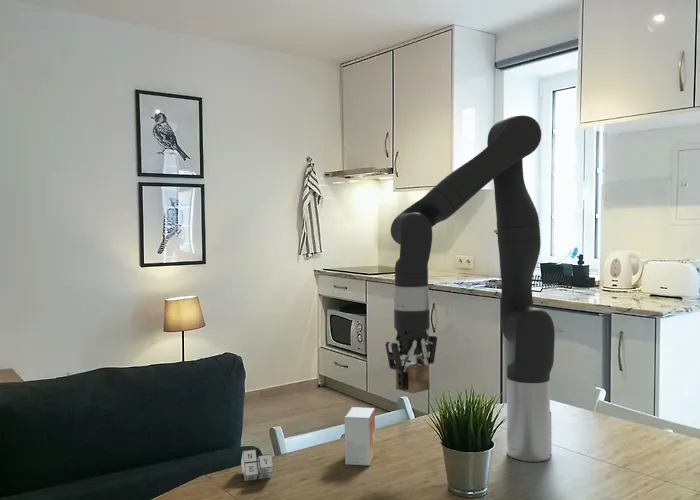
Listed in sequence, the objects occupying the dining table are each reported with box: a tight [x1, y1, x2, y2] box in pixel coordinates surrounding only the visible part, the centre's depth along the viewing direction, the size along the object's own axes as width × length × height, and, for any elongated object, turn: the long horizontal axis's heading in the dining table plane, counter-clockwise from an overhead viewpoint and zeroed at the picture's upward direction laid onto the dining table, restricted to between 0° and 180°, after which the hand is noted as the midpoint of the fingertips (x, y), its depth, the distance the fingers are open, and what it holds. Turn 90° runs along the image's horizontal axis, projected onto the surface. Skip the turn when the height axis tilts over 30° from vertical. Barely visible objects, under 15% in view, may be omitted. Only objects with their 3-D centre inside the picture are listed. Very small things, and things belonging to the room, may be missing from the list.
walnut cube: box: [395, 361, 430, 394], centre depth 129 cm, size 5×5×5 cm
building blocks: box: [240, 448, 274, 482], centre depth 125 cm, size 5×5×8 cm
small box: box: [343, 406, 376, 466], centre depth 135 cm, size 8×6×10 cm
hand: (412, 386), depth 129 cm, fingers closed on walnut cube, 5 cm apart
